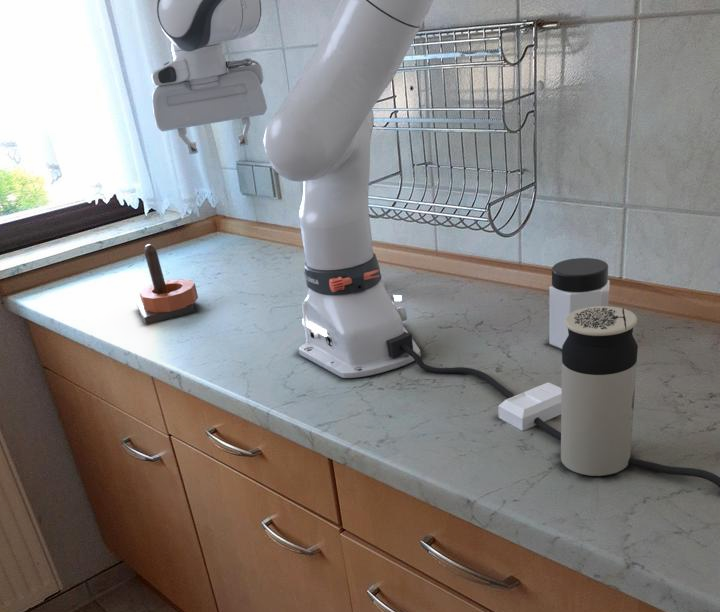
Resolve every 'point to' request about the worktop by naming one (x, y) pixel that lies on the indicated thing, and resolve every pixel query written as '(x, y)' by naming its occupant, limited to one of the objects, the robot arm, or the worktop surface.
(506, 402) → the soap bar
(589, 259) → the jar
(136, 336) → the worktop surface
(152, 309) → the ring
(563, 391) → the travel mug
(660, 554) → the worktop surface
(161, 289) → the peg stand
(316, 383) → the worktop surface
